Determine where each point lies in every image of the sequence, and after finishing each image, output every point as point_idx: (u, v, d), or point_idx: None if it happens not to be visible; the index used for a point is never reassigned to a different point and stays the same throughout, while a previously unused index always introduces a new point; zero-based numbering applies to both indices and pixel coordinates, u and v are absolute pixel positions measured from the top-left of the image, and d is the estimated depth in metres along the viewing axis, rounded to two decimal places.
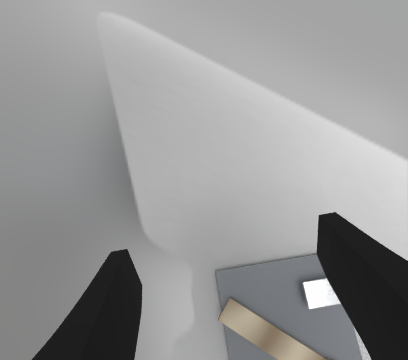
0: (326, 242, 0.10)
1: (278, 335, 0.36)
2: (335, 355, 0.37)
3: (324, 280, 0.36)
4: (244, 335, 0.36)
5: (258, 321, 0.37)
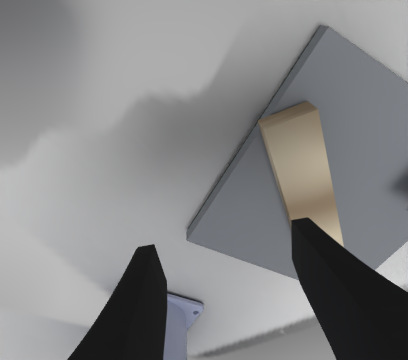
0: (298, 247, 0.10)
1: (327, 211, 0.19)
2: None
3: None
4: (282, 180, 0.18)
5: (321, 176, 0.18)
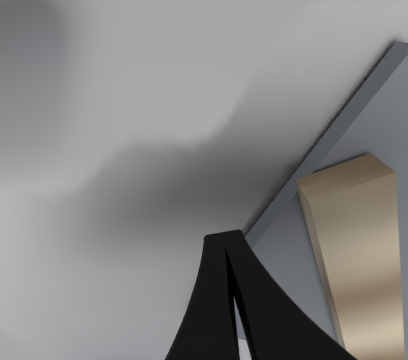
0: None
1: (387, 299, 0.14)
2: None
3: None
4: (330, 266, 0.12)
5: (387, 258, 0.12)
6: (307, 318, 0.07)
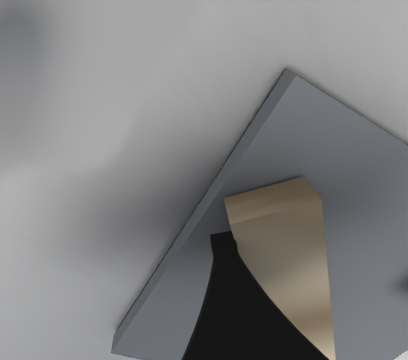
0: None
1: (318, 329, 0.13)
2: None
3: None
4: None
5: (316, 288, 0.12)
6: (287, 321, 0.07)
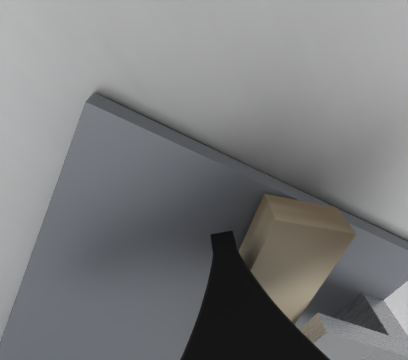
0: None
1: None
2: None
3: (373, 349, 0.12)
4: None
5: (292, 310, 0.12)
6: (288, 321, 0.07)
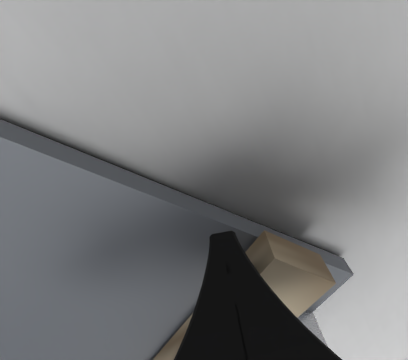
0: None
1: None
2: None
3: None
4: None
5: None
6: (296, 320, 0.07)
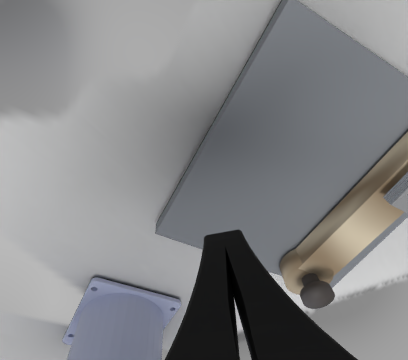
0: None
1: (394, 211, 0.19)
2: None
3: None
4: None
5: None
6: (307, 318, 0.07)
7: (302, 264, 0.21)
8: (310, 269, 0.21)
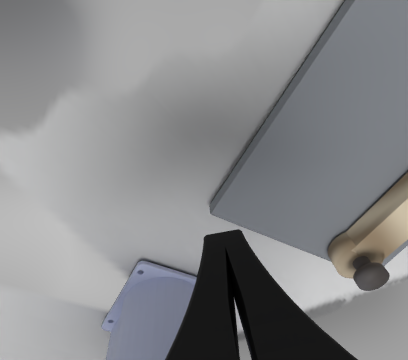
0: None
1: None
2: None
3: None
4: None
5: None
6: (307, 318, 0.07)
7: (355, 246, 0.21)
8: (362, 251, 0.22)
